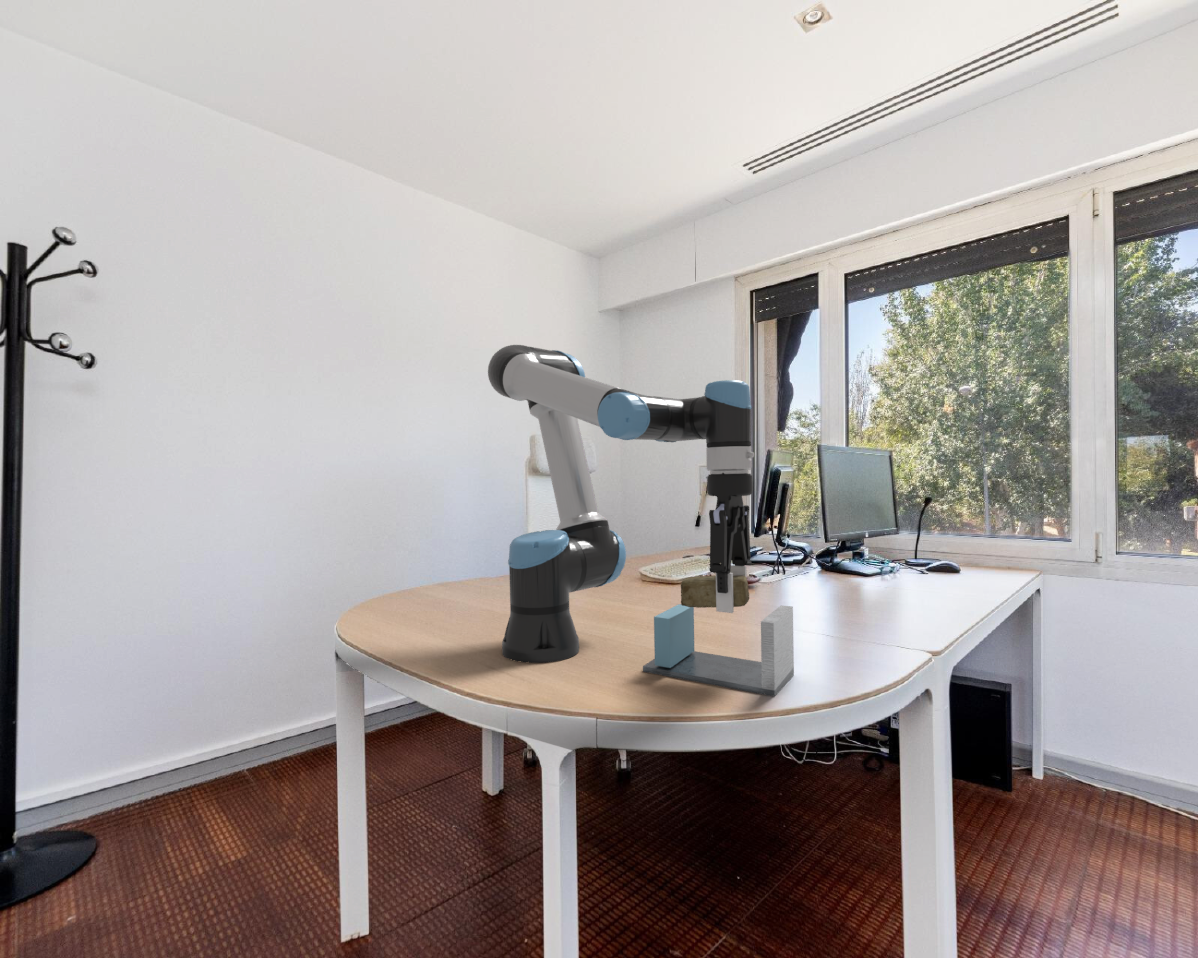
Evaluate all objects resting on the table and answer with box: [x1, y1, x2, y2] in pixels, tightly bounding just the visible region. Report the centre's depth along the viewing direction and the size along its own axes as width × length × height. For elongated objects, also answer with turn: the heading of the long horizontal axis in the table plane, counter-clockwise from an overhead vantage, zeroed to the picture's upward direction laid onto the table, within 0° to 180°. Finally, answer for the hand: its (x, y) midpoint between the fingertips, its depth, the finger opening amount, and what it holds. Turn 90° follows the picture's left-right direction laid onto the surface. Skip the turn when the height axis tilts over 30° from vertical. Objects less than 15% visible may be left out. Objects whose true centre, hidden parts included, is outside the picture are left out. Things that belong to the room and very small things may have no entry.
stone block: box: [680, 575, 750, 609], centre depth 100 cm, size 6×12×5 cm, turn 71°
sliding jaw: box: [653, 603, 695, 668], centre depth 105 cm, size 3×11×8 cm, turn 148°
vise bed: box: [642, 605, 795, 697], centre depth 101 cm, size 23×12×12 cm, turn 58°
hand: (732, 606), depth 99 cm, fingers closed on stone block, 6 cm apart
